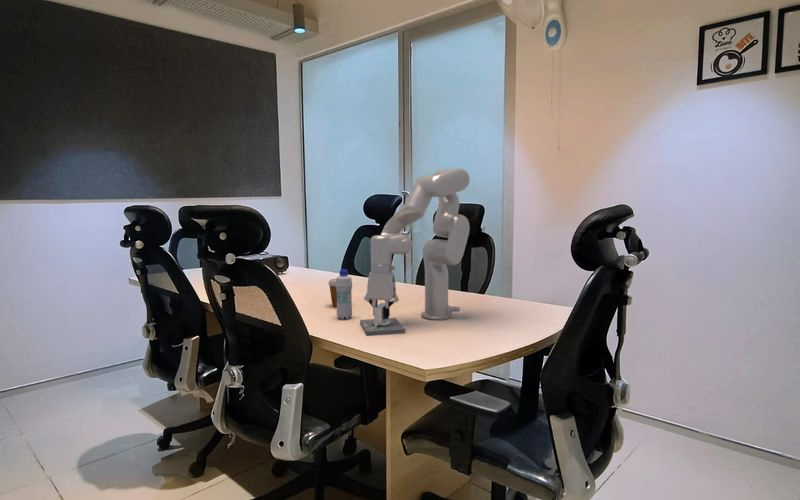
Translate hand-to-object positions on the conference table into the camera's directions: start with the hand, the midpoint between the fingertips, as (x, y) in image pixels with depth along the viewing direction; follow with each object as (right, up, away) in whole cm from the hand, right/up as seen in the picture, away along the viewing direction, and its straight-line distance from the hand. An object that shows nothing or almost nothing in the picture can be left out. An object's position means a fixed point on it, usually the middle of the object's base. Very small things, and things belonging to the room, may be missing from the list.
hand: (381, 317), depth 178 cm
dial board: (0, -4, +1) cm, 4 cm away
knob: (0, -3, -1) cm, 3 cm away
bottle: (-16, -3, +16) cm, 23 cm away
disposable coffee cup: (-20, -1, +37) cm, 43 cm away
